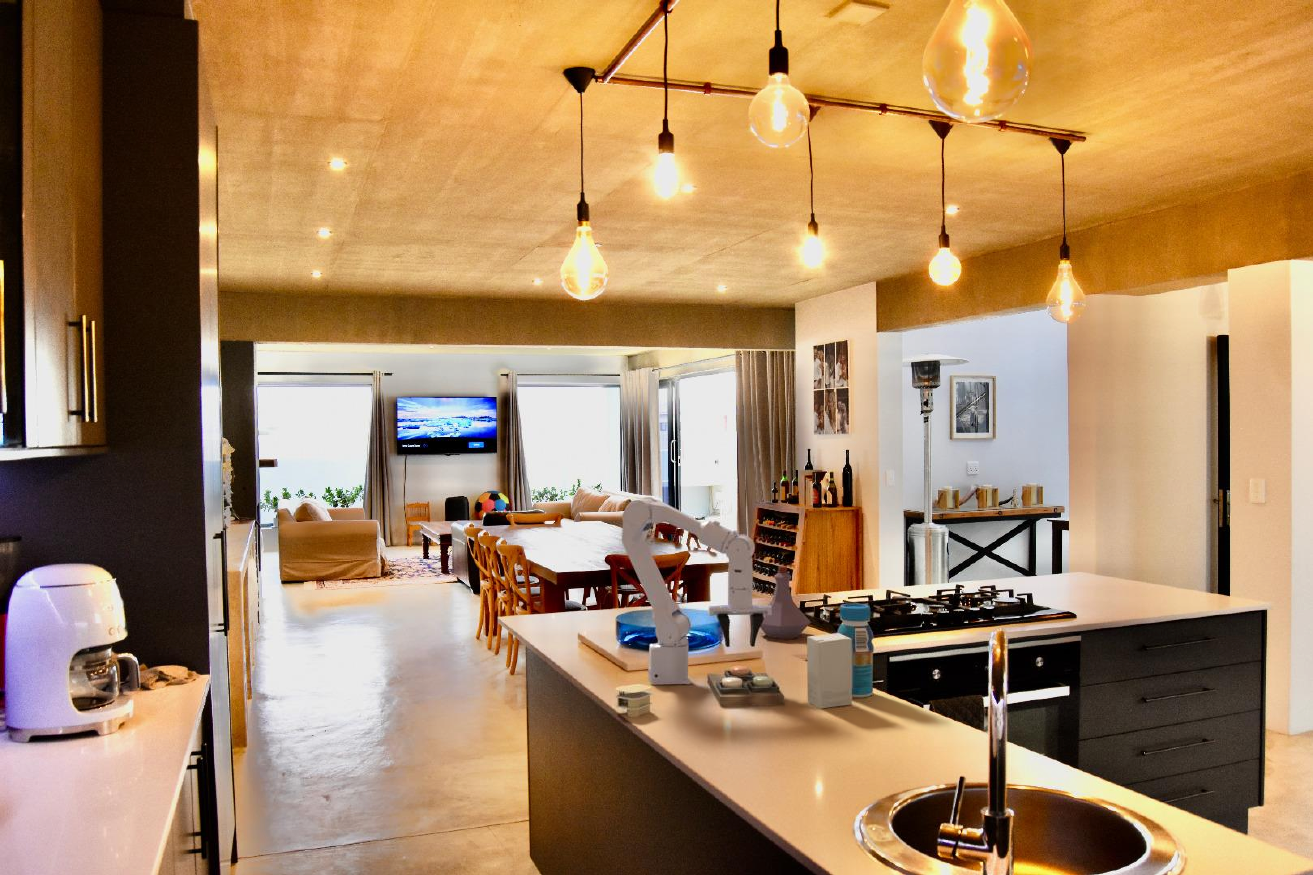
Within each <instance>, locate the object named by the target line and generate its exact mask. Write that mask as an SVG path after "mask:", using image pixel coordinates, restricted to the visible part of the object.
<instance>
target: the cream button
mask: <svg viewBox="0 0 1313 875" xmlns="http://www.w3.org/2000/svg"><path fill="white" fill-rule="evenodd" d="M722 686H724V687H727V688H739V687H742V679H740V678H732V677H730V678H724V679H722Z"/></svg>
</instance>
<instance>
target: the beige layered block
mask: <svg viewBox="0 0 1313 875" xmlns="http://www.w3.org/2000/svg"><path fill="white" fill-rule="evenodd" d="M651 688H653V687H652V686H649V685H645V684H642V683H637V684H627V685H620V686H616V687H615V690H616V691H618V692H617V693H615V698H616V703H615V707H616V708H619V709H620V708H621V709H626V712H627V716H628V717H632V718H635V717H641V716H640V715H643V714H646V713H651V705H653V702H651V696H652V695H653V692H649V691H647V690H649V689H651Z"/></svg>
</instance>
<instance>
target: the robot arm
mask: <svg viewBox="0 0 1313 875" xmlns="http://www.w3.org/2000/svg"><path fill="white" fill-rule="evenodd" d="M621 519H622V533H621V534H622V536H621V542H622V545H623V547H624V550H625V551H626V554H627V556H628V558H629V560H630V563H631V565H632V567H633V569H634V571H635V573H636V576H637V578H638V580H639V582H640V584H641V586H642V589H643V591H644V593H645V595H646V598H647V600H648V602H649V604H650V605H651V606H650V607H651V608H652V620H653V623H654V625H655V630H654V631H655V636H656V638H657V642H656V643H649V646H648V647H649V648H648V650H649V651H648V667H647V670H648V671H647V672H648V673H647V674H648V679H649V681H650V685H654V686H655V685H691V684H692V680H691V678H690V676H689V640H688V638H687V635H688V634H689V633H690V631H691V628H692V627H691V626H692V623H691V620H690V618H689V617H688V616H687V615H686V613H684V612H683V611H682V610H681V608H680V605H679V604H678V603H677V602H675V600H674V599H673V598H672V595H671V593H670V591H669V589H668V587H667V584H666V583H665V580H664V578H663V576H662V574H661V572H660V570H659V568H658V565H657V564H656V561H655V559H654V557H653V555H652V552H651V550H650V548H649V546H648V544H647V542H646V539H647V538H648V535H649V531H650V529H651V528H652V527H653V525H654V524H661V523H666V524H667V523H668V524H670V525H672V526H674V527H677V528H679V529H682V530H683V531H687V532H689V533H691V534H693V535H695V536H696V537H697V539H698V542H699V543H700V544H702V545H704V546H705V547H708V548H710V549H711V550H714V551H716V552H718V553H721V554H723V555H724V554H725V556H726V557H727V559H728V568H727V604H722V605H709V606H708V615H709V617H711V616H712V617H713V616H716V619H717V620H718V623H719V625H720V627H721V631H722V634H723V638H724V645H725V647H726V648H730V647H731V646H730V644H731V641H730V626H731V620H730V616H749V621H750V624H749V625H750V634H749V636H750V637H749V646H751V647H753V648H754V647H756V646H755V645H756V641H757V637H758V633H759V631H760V629H761V628H760V626H761V624H762V623H763V620H764V617H763V615H772V607H771V606H768V605H761V604H759V605H758V604H753V598H754V597H753V594H754V593H753V592H754V591H753V589H754V588H753V587H754V586H753V584H754V581H753V580H754V578H753V574H754V572H753V571H754V569H753V555H754V552H755V551H756V550H755V549H756V546H755V542H754V541H753V539H752V538H751V537H749V536H748V535H747V534H744V533H743V534H741V533H740V534H739V532H738V531H737V530H735V529H734V530H733V531H732V530H731V529H728V528H726V527H724V526H722V525H721V522H720V521H719V520H714V521H712V520H708V521H705V522H701V521H700V520H698V519H696V518H694V517H693V516H690V515H688V514H686V513H684V512H682V511H680V510H679V509H677V508H676V507H673V506H671V505H670V504H667V503H665V502H662V501H659V500H656V499H654V498H652V497H644V498H641V499H635V500H632V501H630V502H629V503H628V504H627V505H626V506H625V508H624V510H623V513H622V515H621Z"/></svg>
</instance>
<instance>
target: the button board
mask: <svg viewBox="0 0 1313 875" xmlns="http://www.w3.org/2000/svg"><path fill="white" fill-rule="evenodd" d="M759 676H764V677H770V676H769V675H768V674H767V672H753V671H752V670H751V669H749V675H745V676H736V675H732V674H730V669H727V670H726V669H725V670H724V673H707V684H708V686H709V688H710V689H711V691H712V693H713V695H714V697H715V699H716V701H717V703H718V705H719V707H738V706H740V707H741V706H742V707H743V706H747V707H749V706H753V707H754V706H784V705H785V695H784V694H783V693H782V691H781V690H780V686H779V685H778V684H777V683H776V681H775V680H774V679H773V685H772V686H769V687H759V686H755V685H753V678H754V677H759ZM730 677H732V678H740V679H742V687H739V688H727V687H724V686H722V679H724V678H730Z"/></svg>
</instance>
